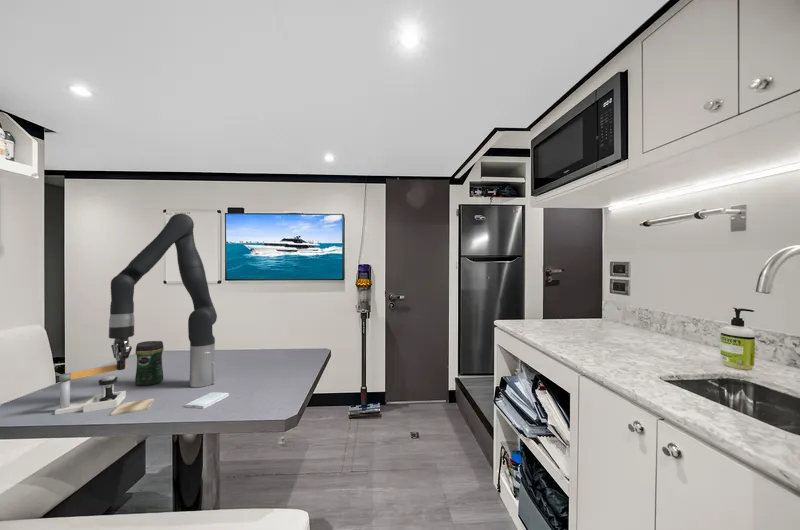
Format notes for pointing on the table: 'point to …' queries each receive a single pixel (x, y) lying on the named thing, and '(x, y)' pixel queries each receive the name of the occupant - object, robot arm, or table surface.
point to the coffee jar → (149, 363)
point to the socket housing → (85, 406)
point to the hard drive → (207, 400)
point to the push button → (108, 387)
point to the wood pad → (132, 406)
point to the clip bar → (88, 372)
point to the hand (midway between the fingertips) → (120, 369)
